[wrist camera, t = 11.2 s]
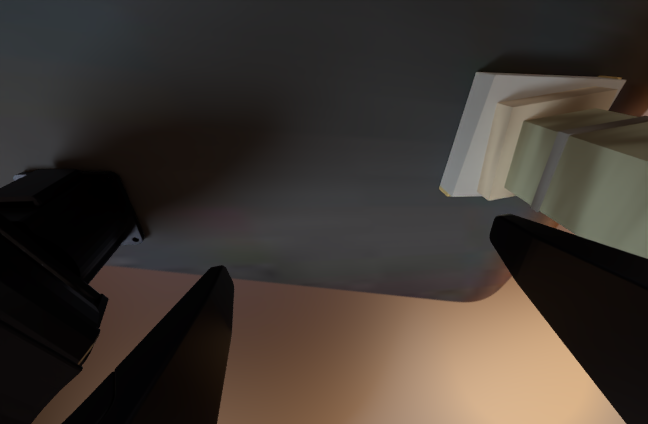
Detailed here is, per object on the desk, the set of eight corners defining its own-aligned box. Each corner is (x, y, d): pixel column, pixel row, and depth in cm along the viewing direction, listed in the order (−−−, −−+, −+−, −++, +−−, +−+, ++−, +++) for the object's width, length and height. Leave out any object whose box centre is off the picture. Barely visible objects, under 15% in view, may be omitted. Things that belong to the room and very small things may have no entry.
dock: (540, 186, 25) (558, 197, 23) (438, 188, 23) (450, 199, 22) (601, 75, 20) (631, 78, 18) (476, 70, 18) (495, 73, 17)
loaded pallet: (476, 191, 22) (668, 340, 11) (496, 102, 18) (828, 197, 7) (557, 177, 22) (825, 309, 11) (594, 86, 18) (1068, 152, 7)
